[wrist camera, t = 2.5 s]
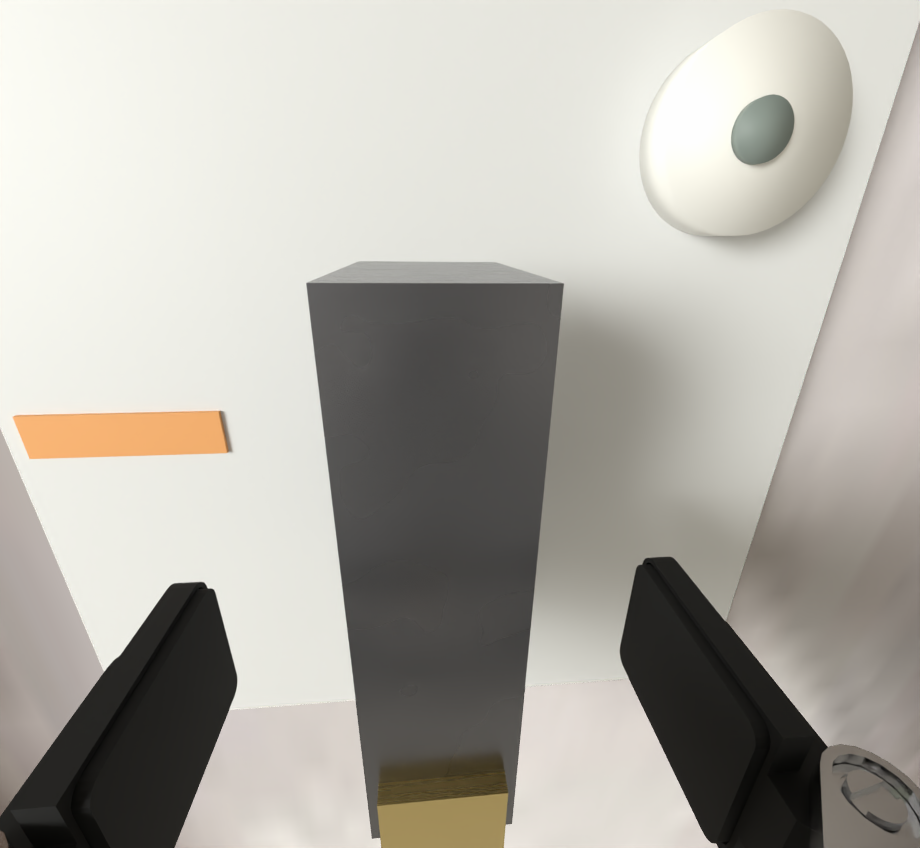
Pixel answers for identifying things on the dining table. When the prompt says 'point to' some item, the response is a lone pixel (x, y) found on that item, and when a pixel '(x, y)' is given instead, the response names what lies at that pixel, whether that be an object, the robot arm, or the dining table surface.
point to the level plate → (415, 240)
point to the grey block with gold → (437, 526)
